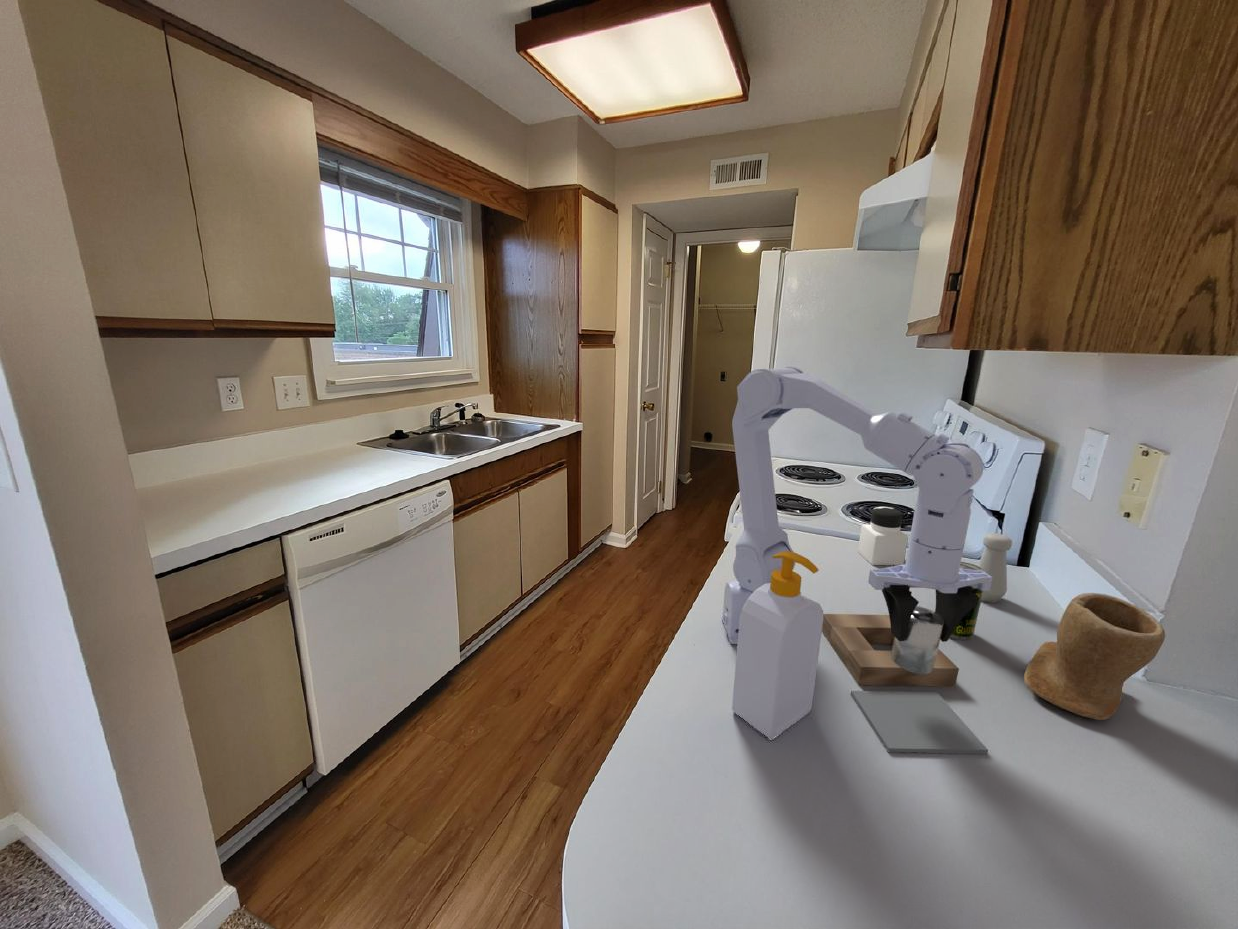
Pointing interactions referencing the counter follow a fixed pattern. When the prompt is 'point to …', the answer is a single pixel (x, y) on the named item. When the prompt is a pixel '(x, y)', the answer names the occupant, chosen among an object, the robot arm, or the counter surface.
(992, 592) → the salt shaker
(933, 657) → the grey round-capped cylinder
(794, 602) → the soap bottle
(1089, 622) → the tan boot
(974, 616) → the green soda can
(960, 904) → the counter surface
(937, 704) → the rubber mat
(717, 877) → the counter surface
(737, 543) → the robot arm
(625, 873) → the counter surface
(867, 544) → the medicine bottle
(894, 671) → the bore block
